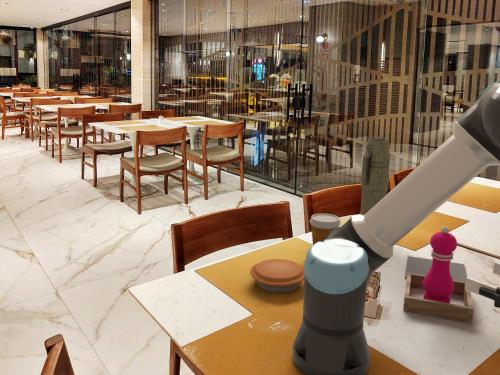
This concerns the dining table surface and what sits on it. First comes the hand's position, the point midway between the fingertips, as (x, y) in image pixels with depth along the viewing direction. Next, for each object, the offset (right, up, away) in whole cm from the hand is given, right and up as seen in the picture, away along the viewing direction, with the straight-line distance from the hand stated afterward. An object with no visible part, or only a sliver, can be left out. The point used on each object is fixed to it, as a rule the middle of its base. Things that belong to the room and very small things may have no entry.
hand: (480, 274), depth 102 cm
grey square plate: (+1, -4, +27) cm, 27 cm away
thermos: (-11, +2, +54) cm, 55 cm away
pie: (-45, -6, +20) cm, 50 cm away
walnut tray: (-6, -9, +10) cm, 15 cm away
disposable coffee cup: (-29, -1, +40) cm, 49 cm away
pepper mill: (-6, -9, +10) cm, 15 cm away
